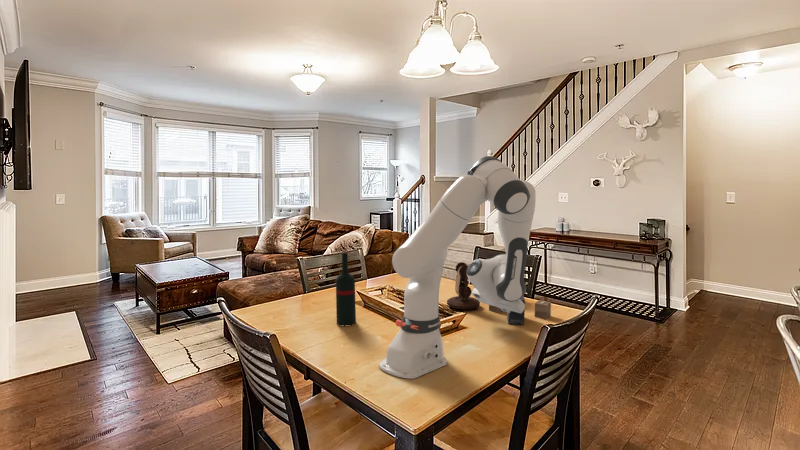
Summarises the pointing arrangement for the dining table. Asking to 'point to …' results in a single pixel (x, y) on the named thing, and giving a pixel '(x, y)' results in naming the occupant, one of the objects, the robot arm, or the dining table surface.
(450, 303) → the dark brown knobbly figurine
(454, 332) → the dining table surface
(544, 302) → the walnut block one
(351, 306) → the wine bottle
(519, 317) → the small box
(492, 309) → the walnut block seven
